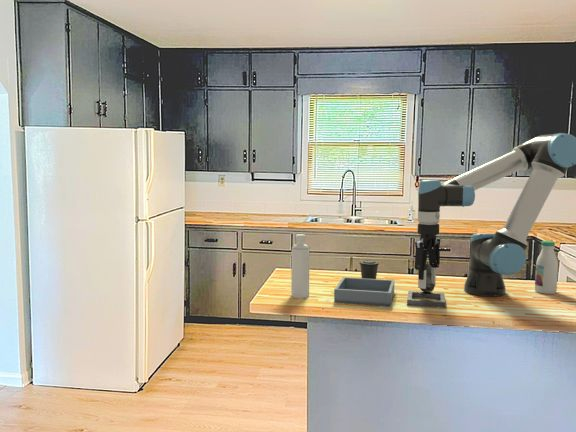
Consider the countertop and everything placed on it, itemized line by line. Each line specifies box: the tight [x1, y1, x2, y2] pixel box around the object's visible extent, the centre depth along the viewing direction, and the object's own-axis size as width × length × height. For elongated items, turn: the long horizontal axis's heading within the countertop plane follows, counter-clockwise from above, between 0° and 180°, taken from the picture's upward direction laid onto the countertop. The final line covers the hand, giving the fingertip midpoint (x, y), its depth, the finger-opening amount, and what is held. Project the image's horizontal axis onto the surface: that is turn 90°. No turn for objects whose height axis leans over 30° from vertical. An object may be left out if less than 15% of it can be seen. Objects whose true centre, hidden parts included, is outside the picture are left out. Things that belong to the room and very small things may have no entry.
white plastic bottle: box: [291, 233, 310, 299], centre depth 200 cm, size 7×7×25 cm
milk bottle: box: [534, 240, 559, 295], centre depth 207 cm, size 8×8×20 cm
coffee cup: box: [358, 259, 380, 279], centre depth 219 cm, size 8×8×10 cm
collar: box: [406, 290, 446, 309], centre depth 194 cm, size 13×13×2 cm
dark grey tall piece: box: [419, 261, 436, 296], centre depth 193 cm, size 6×6×12 cm
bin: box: [333, 276, 395, 308], centre depth 199 cm, size 20×20×5 cm
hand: (426, 286), depth 193 cm, fingers closed on dark grey tall piece, 6 cm apart
